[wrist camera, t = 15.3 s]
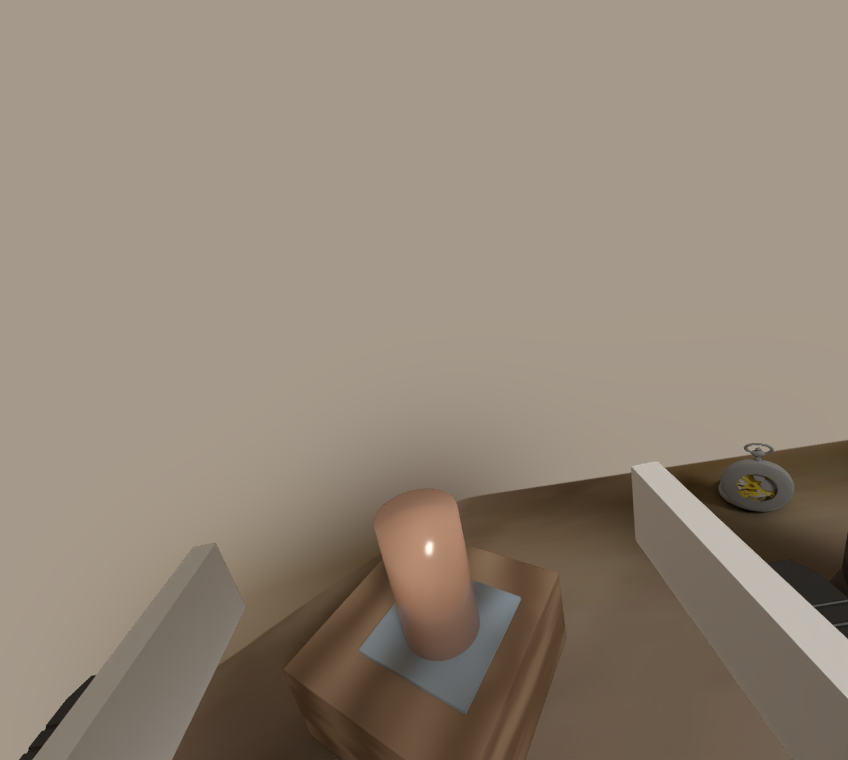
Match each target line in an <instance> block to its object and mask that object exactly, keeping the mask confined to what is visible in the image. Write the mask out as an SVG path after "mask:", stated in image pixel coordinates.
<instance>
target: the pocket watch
mask: <svg viewBox="0 0 848 760" xmlns="http://www.w3.org/2000/svg"><path fill="white" fill-rule="evenodd" d="M751 445H762V446H766V447H768V448H770V449H771V450H770V451H768V452H763V451H761V449H760V448H756V450H753V451H750V450H748V449H747V447H749V446H751ZM744 449H745V450H746V451H748V452H750V453H751V454H752V455H754V456H755V459H746V460H741V461H737V462H735V463H733V464H730V465H729V466H728V467H727V468H726V469H725V470H724V471H723V473H722V475H721V482H720V484H719V487H718V489H719V493H720V495H721V496H722V497H723V498H724V499H725V500H726V501H727V502H729V503H731V504H733V505H735V506H737V507H739V508H742V509H746V510H751V511H758V512H769V511H775V510H778V509H780V508H782V507H783V506H785V505H786V504H787V503H788V502H789V501H790V500H791V498H792V497H793V494H794V483H793V480H792V478H791V477H790V475H789V474H788V473H787V472H786V471H785V470H784V469H783V468H781V467H780V466H778V465H776V464H774V463H771V462H768V461H765V460H761V459H760V457H761V456H764V455H765V454H769V453H771V452H773V451H774V449H773V447H771V446H769V445H766V444H761V443H752V444H748V445H746V446H745V447H744Z"/></svg>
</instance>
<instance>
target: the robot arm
mask: <svg viewBox="0 0 848 760" xmlns="http://www.w3.org/2000/svg"><path fill="white" fill-rule="evenodd" d="M631 471H632V489H633V507H634V524H635V540H636V542H637V543H638V544H639V546H640V547H641V549H642V550H643V551H644V553H645V554H646V556H647V557H648V558H649V560H650V561H651V563H652V564H653V565H654V567H655V568H656V570H657V571H658V572H659V574H660V575H661V577H662V578H663V579H664V581H665V582H666V584H667V585H668V586H669V588H670V589H671V591H672V592H673V593H674V595H675V596H676V598H677V599H678V600H679V602H680V603H681V605H682V606H683V607H684V609H685V610H686V612H687V613H688V614H689V616H690V617H691V619H692V620H693V621H694V623H695V624H696V626H697V627H698V628H699V630H700V631H701V633H702V634H703V635H704V637H705V638H706V640H707V641H708V642H709V644H710V645H711V647H712V648H713V649H714V651H715V652H716V654H717V655H718V656H719V658H720V659H721V661H722V662H723V663H724V665H725V666H726V668H727V669H728V670H729V672H730V673H731V675H732V676H733V677H734V679H735V680H736V682H737V683H738V684H739V686H740V687H741V689H742V690H743V691H744V693H745V694H746V696H747V697H748V698H749V700H750V701H751V703H752V704H753V705H754V707H755V708H756V710H757V711H758V713H759V714H760V715H761V717H762V718H763V720H764V721H765V722H766V724H767V725H768V727H769V728H770V729H771V731H772V732H773V734H774V735H775V736H776V738H777V739H778V741H779V742H780V743H781V745H782V746H783V748H784V749H785V750H786V752H787V753H788V755H789V756H790V757H791V759H792V760H848V534H847V540H846V545H845V553H844V559H843V565H842V569H841V570H840V571H839V572H838V573H837V574H836V575H835V576H834V577H833V578H832V579H831V580H830V581H827V580H826V579H825V578H824V577H823V576H821V575H819V574H817V573H815V572H813V571H811V570H810V569H808V568H806V567H804V566H802V565H800V564H798V563H796V562H794V561H793V560H791V559H790V560H784V561H778V562H772V563H766V562H765V561H764V560H763V559H762V558H760V557H759V556H758V555H757V554H756V553H755V552H754V551H753V550H752V549H751V548H750V547H749V546H748V545H747V544H745V543H744V542H743V541H742V540H741V539H740V538H739V537H738V536H737V535H736V534H735V533H734V532H733V531H732V530H730V529H729V528H728V527H727V526H726V525H725V524H724V523H723V522H722V521H721V520H720V519H719V518H718V517H717V516H715V515H714V514H713V513H712V512H711V511H710V510H709V509H708V508H707V507H706V506H705V505H704V504H703V503H702V502H700V501H699V500H698V499H697V498H696V497H695V496H694V495H693V494H692V493H691V492H690V491H689V490H688V489H687V488H685V487H684V486H683V485H682V484H681V483H680V482H679V481H678V480H677V479H676V478H675V477H674V476H673V475H672V474H670V473H669V472H668V471H667V470H666V469H665V468H664V467H663V466H662V465H661V464H660V463H659V462H657V461H656V462H651V463H645V464H640V465H635V466H631ZM245 608H246V605H245V603H244V601H243V599H242V597H241V595H240V593H239V591H238V589H237V586H236V584H235V582H234V580H233V578H232V576H231V574H230V572H229V570H228V567H227V565H226V563H225V561H224V559H223V557H222V555H221V553H220V551H219V548H218V547H217V544H216V543H212V544H206V545H201V546H196V547H193V548H192V549H191V551H190V552H189V553H188V555H187V556H186V557H185V559H184V560H183V561H182V563H181V564H180V565H179V567H178V568H177V569H176V571H175V572H174V573H173V575H172V576H171V577H170V578H169V580H168V581H167V582H166V584H165V585H164V587H163V588H162V589H161V590H160V592H159V593H158V594H157V596H156V597H155V598H154V600H153V601H152V602H151V604H150V605H149V606H148V608H147V609H146V610H145V612H144V613H143V614H142V616H141V617H140V618H139V620H138V621H137V622H136V624H135V625H134V626H133V627H132V629H131V630H130V631H129V633H128V634H127V635H126V637H125V638H124V640H123V641H122V642H121V643H120V645H119V646H118V647H117V649H116V650H115V652H114V653H113V654H112V655H111V657H110V658H109V659H108V661H107V662H106V663H105V665H104V666H103V667H102V669H101V670H100V671H99V673H98V674H97V675H95V676H91V677H90V678H89V679H88V680H87V681H86V682H84V683H83V684H82V685H81V686H80V687H79V688H78V689H77V690H76V691H75V692H74V693H73V694H72V695H71V696H70V697H68V699H67V700H66V701H65V702H64V703H63V705H62V706H61V707H60V708H59V710H58V711H57V712H56V713H55V715H54V716H53V717H52V719H51V720H50V721H49V722H48V724H47V725H46V729H45V730H44V731H41V733H40V734H39V735H38V737H37V738H36V739H35V740H34V742H33V743H32V744H31V746H30V747H29V751H28V752H27V753H26V754H23V756H22V757H21V758H20V759H19V760H172V759H173V757H174V755H175V753H176V751H177V748H178V746H179V744H180V742H181V740H182V738H183V736H184V734H185V732H186V730H187V728H188V726H189V724H190V722H191V720H192V718H193V716H194V713H195V711H196V709H197V707H198V705H199V703H200V701H201V699H202V697H203V695H204V693H205V691H206V689H207V687H208V685H209V683H210V681H211V678H212V676H213V674H214V672H215V670H216V668H217V666H218V664H219V662H220V660H221V658H222V655H223V654H224V651H225V650H226V648H227V646H228V643H229V641H230V639H231V637H232V635H233V633H234V631H235V629H236V627H237V625H238V623H239V621H240V619H241V616H242V615H243V613H244V611H245Z"/></svg>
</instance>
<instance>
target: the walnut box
mask: <svg viewBox="0 0 848 760" xmlns="http://www.w3.org/2000/svg"><path fill="white" fill-rule="evenodd" d="M465 547H466V552H467V557H468V562H469V567H470V572H471V577H472V582H473V587H474V592H475V597H476V602H477V607H478V612H479V618H480V627H479V631H478V634H477V637H476V639H475V640H474V642H473V643H472V645H471V646H470V647H469V648H468V649H467V650H466V651H465V652H463V653H462V654H460V655H458V656H457V657H454V658H452V659H448V660H443V661H432V660H427V659H424V658H422V657H420V656H418V655H417V654H415V653H414V652H413V651H412V650H411V649H410V647H409V646H408V644H407V642H406V639H405V636H404V632H403V629H402V625H401V622H400V618H399V614H398V611H397V607H396V604H395V600H394V597H393V593H392V590H391V586H390V583H389V579H388V575H387V572H386V568H385V565H384V561H383V559H382V560H381V561H380V562H379V563H378V564H377V565H376V567H375V568H374V569H373V570H372V571H371V572H370V573H369V574H368V575H367V577H366V578H365V579H364V580H363V581H362V582H361V583H360V584H359V585H358V587H357V588H356V589H355V590H354V591H353V592H352V593H351V594H350V595H349V597H348V598H347V599H346V600H345V601H344V602H343V603H342V604H341V605H340V606H339V608H338V609H337V610H336V611H335V612H334V613H333V614H332V615H331V616H330V618H329V619H328V620H327V621H326V622H325V623H324V624H323V625H322V626H321V628H320V629H319V630H318V631H317V632H316V633H315V634H314V635H313V636H312V638H311V639H310V640H309V641H308V642H307V643H306V644H305V645H304V646H303V647H302V649H301V650H300V651H299V652H298V653H297V654H296V655H295V656H294V657H293V659H292V660H291V661H290V662H289V663H288V664H287V665H286V666H285V667H284V669H283V671H284V674H285V676H286V678H287V681H288V683H289V685H290V688H291V690H292V692H293V695H294V697H295V699H296V701H297V704H298V706H299V708H300V711H301V713H302V715H303V718H304V720H305V722H306V725H307V727H308V729H309V732H310V734H311V735H312V736H313V737H315V738H316V739H317V740H318V741H319V742H321V743H322V744H323V745H324V746H325V747H327V748H328V749H329V750H330V751H331V752H333V753H334V754H335V755H336V756H337V757H338V758H340V759H341V760H525V758H526V755H527V752H528V749H529V747H530V744H531V741H532V738H533V735H534V732H535V729H536V726H537V723H538V720H539V717H540V714H541V711H542V708H543V705H544V702H545V699H546V696H547V693H548V690H549V687H550V685H551V682H552V679H553V676H554V673H555V670H556V667H557V664H558V661H559V658H560V655H561V652H562V649H563V646H564V643H565V640H566V631H565V623H564V615H563V606H562V598H561V589H560V581H559V573H557V572H553V571H550V570H547V569H544V568H540V567H537V566H534V565H530V564H527V563H524V562H520V561H517V560H514V559H510V558H507V557H504V556H501V555H497V554H494V553H491V552H487V551H484V550H481V549H477V548H474V547H471V546H468V545H465Z"/></svg>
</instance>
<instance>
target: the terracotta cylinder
mask: <svg viewBox="0 0 848 760" xmlns="http://www.w3.org/2000/svg"><path fill="white" fill-rule="evenodd" d="M374 529H375V533H376V536H377V540H378V544H379V547H380V551H381V554H382V558H383V561H384V565H385V568H386V572H387V575H388V579H389V583H390V586H391V590H392V593H393V597H394V600H395V604H396V607H397V611H398V614H399V618H400V622H401V625H402V629H403V632H404V636H405V639H406V642H407V644H408V646H409V647H410V649H411V650H412V651H413V652H414V653H415V654H417V655H418V656H420V657H422V658H424V659H427V660H432V661H443V660H448V659H452V658H454V657H457V656H458V655H460V654H462V653H463V652H465V651H466V650H467V649H468V648H469V647H470V646H471V645H472V643H473V642H474V640H475V639H476V637H477V634H478V631H479V627H480V618H479V612H478V607H477V602H476V597H475V592H474V587H473V582H472V577H471V572H470V567H469V562H468V557H467V552H466V547H465V542H464V537H463V532H462V527H461V522H460V517H459V512H458V507H457V503H456V501H455V500H454V498H453V497H452V496H451V495H449V494H448V493H446V492H443V491H440V490H436V489H418V490H412V491H408V492H405V493H402V494H400V495H398V496H396V497H394V498H392V499H391V500H389V501H388V502H387V503H385V504H384V505H383V506H382V507H381V508H380V510H379V511H378V513H377V514H376V516H375V519H374Z"/></svg>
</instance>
